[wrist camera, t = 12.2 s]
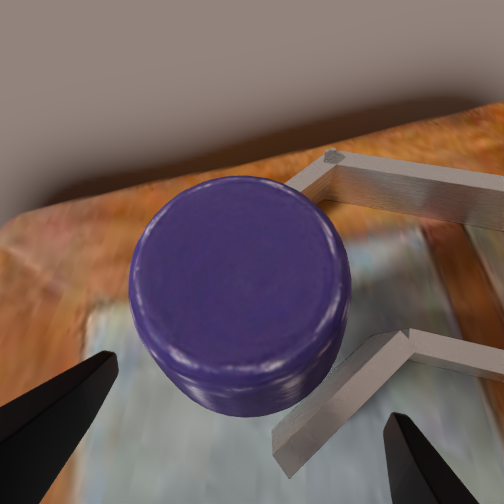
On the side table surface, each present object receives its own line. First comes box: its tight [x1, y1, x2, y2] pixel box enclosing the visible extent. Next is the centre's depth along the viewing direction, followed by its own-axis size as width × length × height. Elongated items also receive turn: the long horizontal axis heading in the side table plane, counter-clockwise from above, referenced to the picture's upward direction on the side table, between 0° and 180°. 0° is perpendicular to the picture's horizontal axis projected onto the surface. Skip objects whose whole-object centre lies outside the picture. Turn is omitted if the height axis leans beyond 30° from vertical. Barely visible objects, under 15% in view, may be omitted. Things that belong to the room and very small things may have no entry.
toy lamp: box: [129, 176, 351, 417], centre depth 11 cm, size 5×5×17 cm
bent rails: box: [272, 147, 504, 479], centre depth 18 cm, size 18×27×4 cm
